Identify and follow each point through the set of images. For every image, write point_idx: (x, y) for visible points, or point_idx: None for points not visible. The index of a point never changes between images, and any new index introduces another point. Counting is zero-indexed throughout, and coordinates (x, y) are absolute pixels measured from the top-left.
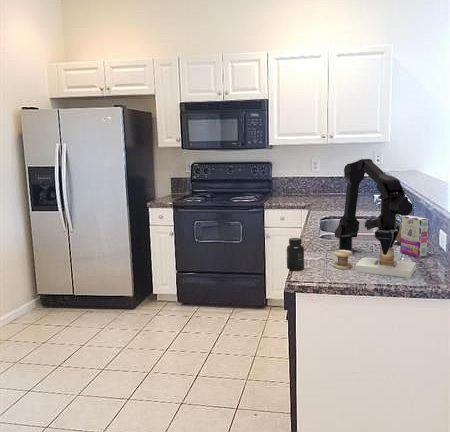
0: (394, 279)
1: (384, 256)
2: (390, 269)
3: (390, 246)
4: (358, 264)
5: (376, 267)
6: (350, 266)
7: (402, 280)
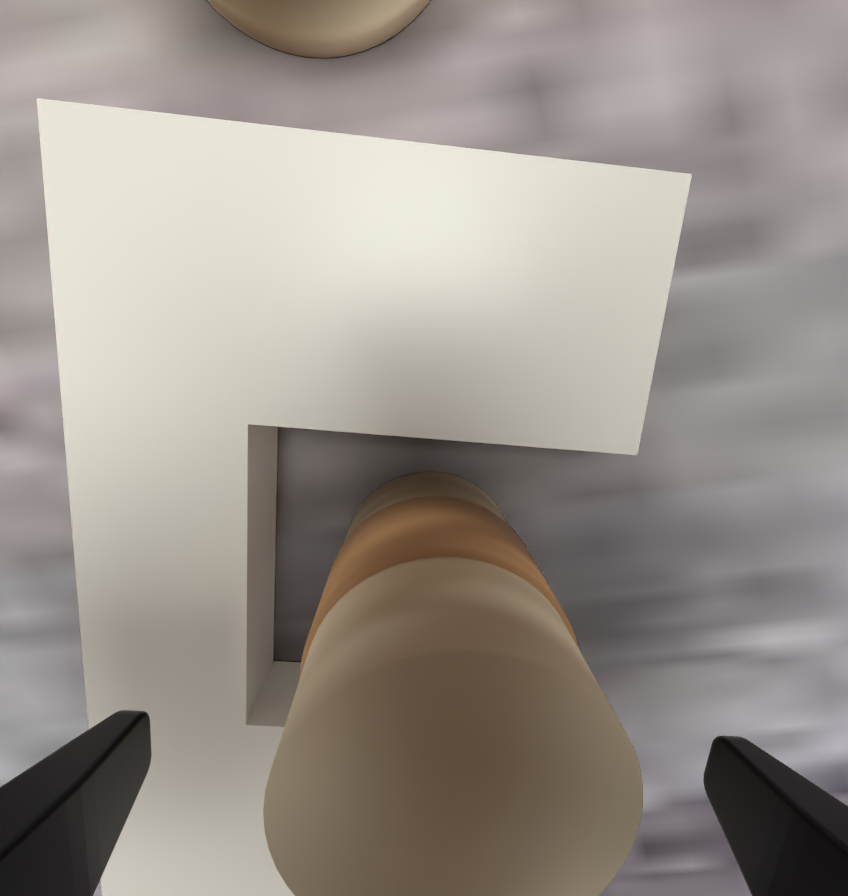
0: (11, 679)
1: (304, 655)
2: (88, 679)
3: (758, 854)
4: (113, 160)
5: (72, 493)
6: (255, 22)
7: (19, 752)
